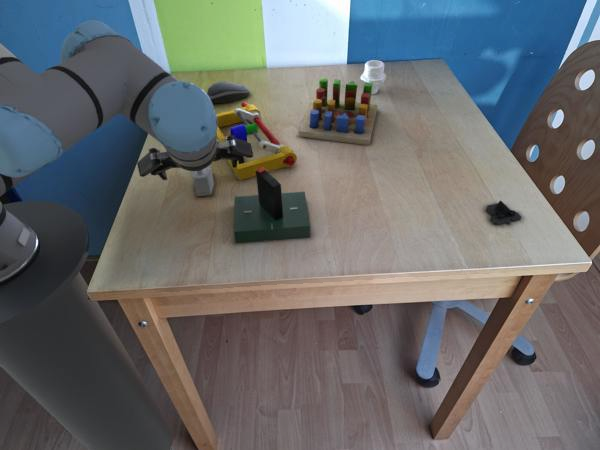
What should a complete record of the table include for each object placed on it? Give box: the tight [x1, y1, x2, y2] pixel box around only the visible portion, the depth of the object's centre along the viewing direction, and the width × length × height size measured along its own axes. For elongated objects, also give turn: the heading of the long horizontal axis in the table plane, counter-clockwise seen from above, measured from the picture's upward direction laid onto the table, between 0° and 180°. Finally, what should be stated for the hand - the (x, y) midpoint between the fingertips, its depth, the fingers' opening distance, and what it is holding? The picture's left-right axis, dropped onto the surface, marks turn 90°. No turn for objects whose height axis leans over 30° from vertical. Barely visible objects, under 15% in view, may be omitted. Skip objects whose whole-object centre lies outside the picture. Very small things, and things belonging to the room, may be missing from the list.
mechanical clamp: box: [216, 101, 298, 181], centre depth 100 cm, size 18×6×30 cm
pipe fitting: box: [360, 59, 387, 95], centre depth 118 cm, size 6×7×8 cm
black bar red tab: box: [255, 167, 283, 220], centre depth 78 cm, size 6×2×8 cm, turn 35°
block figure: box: [485, 200, 522, 226], centre depth 82 cm, size 6×2×6 cm
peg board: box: [298, 77, 378, 146], centre depth 106 cm, size 18×17×9 cm
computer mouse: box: [206, 80, 250, 104], centre depth 119 cm, size 7×12×4 cm, turn 112°
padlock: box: [191, 164, 215, 197], centre depth 88 cm, size 7×4×10 cm, turn 8°
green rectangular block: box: [233, 191, 311, 244], centre depth 82 cm, size 14×10×3 cm
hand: (199, 166), depth 84 cm, fingers open, 13 cm apart
